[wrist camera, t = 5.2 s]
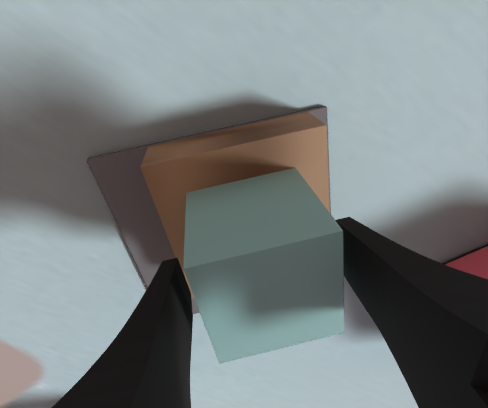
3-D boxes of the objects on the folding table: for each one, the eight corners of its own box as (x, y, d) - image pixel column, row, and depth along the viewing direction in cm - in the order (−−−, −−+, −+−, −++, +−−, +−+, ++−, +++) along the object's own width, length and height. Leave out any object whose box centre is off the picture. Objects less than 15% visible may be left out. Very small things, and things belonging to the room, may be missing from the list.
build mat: (164, 317, 21) (164, 321, 21) (88, 158, 15) (86, 160, 15) (331, 277, 21) (333, 279, 21) (324, 105, 15) (326, 107, 15)
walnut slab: (191, 268, 19) (191, 298, 17) (147, 147, 15) (140, 166, 13) (316, 238, 19) (331, 264, 17) (307, 111, 15) (326, 125, 13)
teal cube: (212, 274, 16) (219, 363, 12) (186, 192, 13) (183, 268, 9) (303, 252, 16) (344, 332, 12) (295, 167, 14) (342, 230, 9)
